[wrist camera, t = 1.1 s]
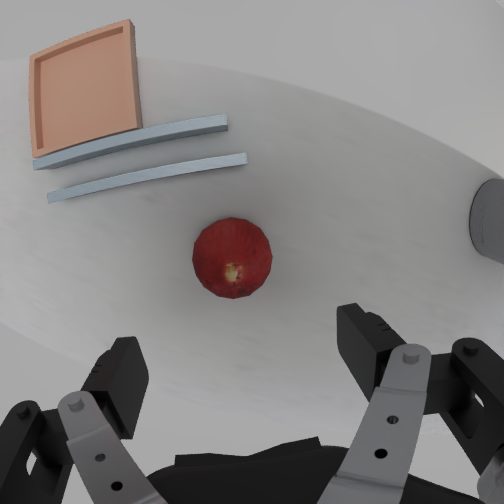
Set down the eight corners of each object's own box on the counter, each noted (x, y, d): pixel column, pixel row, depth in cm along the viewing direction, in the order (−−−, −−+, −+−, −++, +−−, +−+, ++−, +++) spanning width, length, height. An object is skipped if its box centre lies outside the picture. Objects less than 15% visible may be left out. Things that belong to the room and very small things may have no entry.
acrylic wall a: (243, 154, 25) (245, 152, 21) (244, 164, 25) (247, 163, 22) (65, 189, 24) (46, 193, 21) (67, 198, 24) (48, 203, 21)
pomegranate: (271, 270, 28) (288, 309, 20) (206, 284, 27) (200, 329, 20) (257, 204, 26) (271, 220, 18) (189, 220, 26) (174, 243, 18)
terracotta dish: (134, 26, 21) (129, 18, 19) (142, 129, 24) (137, 127, 22) (39, 60, 20) (29, 56, 19) (43, 158, 23) (32, 158, 21)
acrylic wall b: (226, 120, 24) (226, 113, 21) (227, 130, 24) (227, 124, 21) (52, 160, 23) (32, 160, 20) (53, 168, 24) (33, 170, 20)
